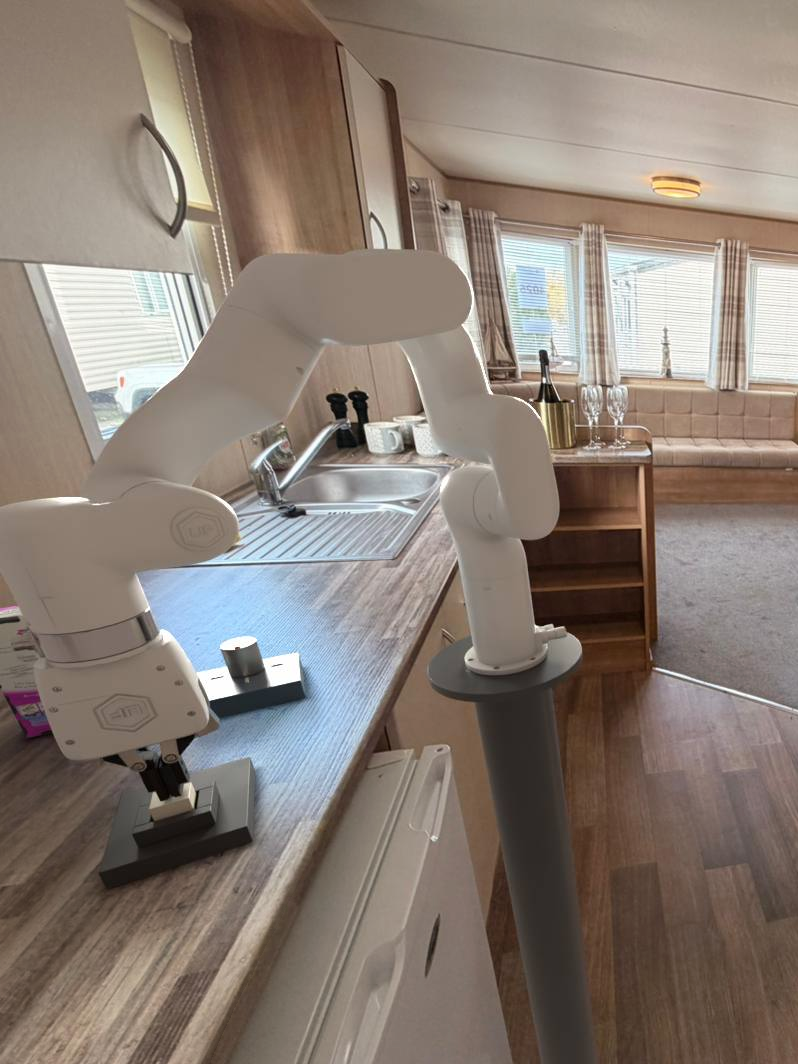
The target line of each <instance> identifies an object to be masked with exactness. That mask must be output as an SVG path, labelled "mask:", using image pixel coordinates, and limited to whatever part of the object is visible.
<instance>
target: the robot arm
mask: <svg viewBox="0 0 798 1064" xmlns="http://www.w3.org/2000/svg"><path fill="white" fill-rule="evenodd" d="M473 307H474V291H473V287H472V284H471V282H470V280H469V277H468V276H467V274H466V273H465V272H464V270H463V269H462V267H461V266H460V265H458V263H456V262H455V261H454V260H453V259H452V258H450V257H449V256H447V255H445V254H443V253H442V252H438V251H435V250H431V249H430V250H429V249H408V248H407V249H405V248H404V249H402V248H401V249H399V248H396V249H395V248H359V249H353V250H349V251H347V252H345V253H343V254H340V253H339V254H335V253H331V254H330V253H295V252H293V253H289V252H287V253H286V252H284V253H283V252H281V253H280V252H279V253H276V252H275V253H268V254H262V255H260V256H258V257H256V258H254V259H252V260H251V261H249V263H247V264H246V265H245V266H244V267H243V269H242V270H241V272H240V273H239V275H238V276H237V278H236V279H235V282H233V285H232V287H231V288H230V290H229V291H228V293H227V295H226V297H224V300H223V302H222V303H221V305H220V306H219V308H218V310H217V312H216V314H215V315H214V316H213V319H212V321H211V322H210V323H209V325H208V328H207V329H206V330H205V332H204V333H203V334H204V335H202V337H201V339H200V341H199V343H198V344H197V346H196V347H195V350H194V351H193V353H192V354H191V356H190V358H189V359H188V361H187V362H186V364H185V365H184V366H183V367H182V369H181V370H180V371H179V373H177V374H176V375H175V376H174V377H173V378H171V379H170V380H169V381H167V382H166V383H165V384H164V385H162V386H161V387H160V388H159V389H158V390H156V392H155V393H154V394H153V395H151V397H149V398H148V399H146V400H145V402H143V403H142V404H141V405H140V406H138V407H137V409H135V410H134V411H133V412H132V413H131V414H130V415H129V416H127V418H126V419H125V420H124V421H123V422H122V423H121V424H120V425H119V426H118V428H117V429H116V430H115V431H114V433H113V434H112V435H111V436H110V438H109V439H108V441H107V443H106V444H105V446H104V447H103V448H102V450H101V452H100V454H99V456H98V457H97V459H96V461H95V462H94V463H93V465H92V467H91V469H90V471H89V472H88V474H87V476H86V478H85V480H84V481H83V484H82V486H81V489H80V491H79V495H78V497H73V496H72V497H71V496H69V497H68V496H66V497H65V496H64V497H49V498H48V497H47V498H39V499H38V498H37V499H31V500H24V501H18V502H13V503H9V504H6V505H2V506H0V573H1V576H2V578H3V579H4V582H5V584H6V585H7V587H8V589H9V591H10V593H11V595H12V597H13V599H14V602H15V603H16V606H18V607H19V609H20V611H21V613H22V615H23V617H24V619H25V621H26V623H27V625H28V627H29V628H30V630H29V631H28V632H27V633H23V634H22V635H19V636H13V637H11V638H10V643H11V646H12V648H13V649H14V650H15V651H20V650H26V649H27V650H35V651H36V652H37V653H39V655H40V658H39V659H38V661H36V662H35V663H34V665H33V667H34V675H35V680H36V685H37V689H38V692H39V696H40V699H41V702H42V705H43V708H44V711H45V714H46V716H47V719H48V722H49V724H50V727H51V729H52V732H53V733H52V734H53V737H54V739H55V741H56V743H57V746H58V748H59V749H60V751H61V752H62V754H63V755H64V757H65V758H66V759H68V760H69V762H70V764H72V765H75V766H82V765H91V764H100V763H102V762H106V763H110V764H114V765H118V766H122V767H125V768H128V770H130V771H131V772H134V773H138V774H139V777H140V778H141V780H142V783H143V785H145V787H146V789H147V791H148V792H149V793H151V792H154V791H155V792H156V794H157V796H158V798H159V800H160V801H165V800H168V798H170V796H172V797H179V796H182V793H183V787H184V783H186V782H189V780H190V775H189V773H190V772H189V769H188V767H187V765H186V763H185V760H184V758H183V756H182V755H183V753H185V751H186V750H187V748H188V747H189V746H190V745H191V744H192V743H193V741H194V740H195V739H198V738H202V737H204V736H206V735H208V734H210V733H213V732H215V731H217V730H219V729H220V727H221V726H220V725H221V718H219V717H218V716H217V715H216V714H215V713H214V712H213V711H212V709H211V708H210V701H209V698H208V695H207V692H206V690H205V688H204V686H203V684H202V682H201V680H200V678H199V676H198V674H197V673H198V672H197V671H196V669H195V667H194V666H193V664H192V662H191V660H190V658H189V657H188V655H187V654H186V652H185V651H184V649H183V647H182V646H181V644H180V643H179V642H178V640H177V639H176V638H175V637H174V636H173V634H172V633H171V632H170V631H168V630H167V629H160V628H159V626H158V623H157V620H156V618H155V616H154V613H153V611H152V609H151V606H150V603H149V602H148V599H147V596H146V594H145V592H144V589H143V586H142V585H141V582H140V580H139V577H138V573H141V572H149V571H155V570H163V569H171V568H180V567H187V566H193V565H198V564H201V563H206V562H209V561H211V560H214V559H216V558H218V557H220V556H222V555H224V554H225V553H226V552H227V551H229V550H230V549H231V548H232V547H233V546H234V545H235V543H236V541H237V540H238V537H239V534H240V529H241V528H240V520H239V518H238V515H237V514H236V511H235V510H234V509H233V507H232V506H231V505H230V504H229V503H227V502H226V501H225V500H223V499H222V498H221V497H219V496H217V495H215V494H214V493H211V492H209V491H207V490H204V489H201V488H198V487H195V486H193V484H194V483H195V481H196V480H197V478H198V476H199V475H200V473H201V472H202V471H203V469H204V468H205V467H206V466H207V465H208V464H209V462H211V461H212V459H214V458H215V456H217V455H218V454H219V453H220V452H222V451H223V450H224V449H226V448H228V447H229V446H231V445H233V444H235V443H236V442H239V441H240V440H243V439H245V438H248V437H250V436H253V435H256V434H258V433H261V432H263V431H266V430H268V429H270V428H272V427H274V426H276V425H278V424H280V423H281V422H283V421H284V420H286V419H287V418H288V417H289V416H290V415H291V412H292V410H293V409H294V407H295V406H296V405H295V404H296V403H297V400H299V399H298V398H299V397H300V395H301V393H302V391H303V389H304V388H305V386H306V383H307V381H308V380H309V378H310V376H311V373H312V372H313V370H314V368H315V366H316V365H317V363H318V362H319V360H320V358H321V356H322V354H323V353H324V351H325V349H326V347H327V346H328V345H337V346H350V347H351V346H352V347H359V346H370V345H371V346H372V345H379V344H380V345H381V344H387V343H395V344H397V346H398V347H399V348H400V349H401V350H402V352H403V353H404V355H405V357H406V359H407V361H408V363H409V365H410V368H411V371H412V374H413V377H414V380H415V383H416V386H417V389H418V393H419V397H420V400H421V403H422V407H423V410H424V414H425V417H426V420H427V424H428V428H429V431H430V434H431V437H432V439H433V441H434V443H435V446H436V447H437V448H438V449H439V450H440V452H442V453H444V454H445V455H447V456H448V457H452V458H455V459H457V460H463V461H467V462H474V463H479V464H485V465H490V466H484V465H464V466H461V467H457V468H455V469H453V470H451V471H450V472H449V473H448V474H447V475H446V476H445V477H444V479H443V480H442V482H441V485H440V488H439V495H438V496H439V498H438V499H439V506H440V510H441V513H442V515H443V518H444V521H445V523H446V525H447V528H448V531H449V534H450V535H451V536H450V537H451V538H452V543H453V545H454V550H455V552H456V557H457V563H458V568H459V574H460V579H461V585H462V591H463V597H464V602H465V609H466V613H467V620H468V624H469V630H470V636H472V642H473V647H472V648H471V649H469V650H468V651H467V653H466V654H465V657H464V658H465V664H466V667H467V668H468V669H469V670H471V671H473V672H475V673H478V674H482V675H492V676H496V675H508V674H514V673H518V672H522V671H525V670H528V669H530V668H532V667H534V666H536V665H538V664H539V663H541V662H542V661H543V660H544V659H545V658H546V657H547V655H548V646H547V643H548V641H550V640H554V639H560V638H564V637H567V633H568V632H567V629H566V627H565V626H558V627H554V624H553V623H550V624H546V625H544V626H543V625H542V626H543V627H538V626H539V625H536V623H535V615H534V607H533V600H532V593H531V592H532V591H531V586H530V585H531V584H530V576H529V571H528V562H527V561H528V560H527V555H526V552H525V548H524V545H523V543H522V541H521V540H524V541H537V540H541V539H543V538H546V537H547V536H548V535H550V534H551V533H552V531H554V529H555V527H556V525H557V524H558V520H559V517H560V497H559V490H558V483H557V479H556V474H555V470H554V469H555V468H554V464H553V459H552V454H551V449H550V444H549V439H548V435H547V431H546V428H545V426H544V423H543V421H542V419H541V417H540V416H539V414H538V413H537V411H536V410H535V409H534V408H533V407H532V406H531V405H530V404H529V403H527V402H526V401H524V400H523V399H521V398H518V397H516V396H513V395H506V394H499V393H493V392H492V391H491V389H490V386H489V384H488V379H487V377H486V374H485V369H484V367H483V363H482V359H481V356H480V353H479V349H478V348H477V346H476V343H475V342H474V340H473V338H472V336H471V334H470V333H469V331H468V329H467V328H466V326H465V325H464V324H465V322H466V321H467V320H468V318H469V317H470V316H471V313H472V310H473ZM566 632H567V633H566ZM158 744H159V747H160V754H158V752H153V751H151V749H150V747H151V746H154V745H158Z"/></svg>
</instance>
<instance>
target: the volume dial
mask: <svg viewBox="0 0 798 1064" xmlns="http://www.w3.org/2000/svg"><path fill="white" fill-rule="evenodd" d="M219 649H220V652H221V655H222V657H223V660H224V664H225V667H227V669H228V672H229V674H230V676H232V677H246V676H250V675H253V674H256V673H258V672H260V671H262V670H263V669H264V668H265V665H264V662H263V657H262V656H263V655H262V653H261V650H260V647H259V644H258V641H257V639H256V638H255V637H252V636H242V637H236V638H232V639H229V640H227V641H224V642H222V643H221V644H220V646H219Z"/></svg>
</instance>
